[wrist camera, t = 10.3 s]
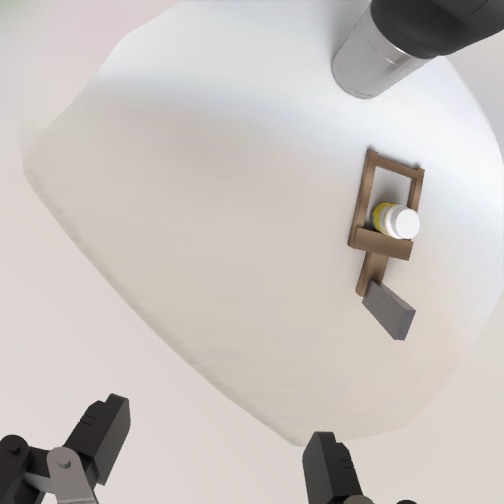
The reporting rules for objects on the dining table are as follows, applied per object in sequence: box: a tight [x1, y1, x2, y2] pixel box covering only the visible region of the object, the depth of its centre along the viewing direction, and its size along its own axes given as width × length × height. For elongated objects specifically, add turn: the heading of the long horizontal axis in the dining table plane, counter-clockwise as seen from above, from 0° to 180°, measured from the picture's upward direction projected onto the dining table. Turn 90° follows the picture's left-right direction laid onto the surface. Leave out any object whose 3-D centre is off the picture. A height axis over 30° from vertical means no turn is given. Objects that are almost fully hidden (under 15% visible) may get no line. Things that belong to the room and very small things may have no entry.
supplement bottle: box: [370, 203, 420, 239], centre depth 37 cm, size 5×5×8 cm
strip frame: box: [348, 150, 425, 340], centre depth 35 cm, size 23×10×14 cm, turn 169°
